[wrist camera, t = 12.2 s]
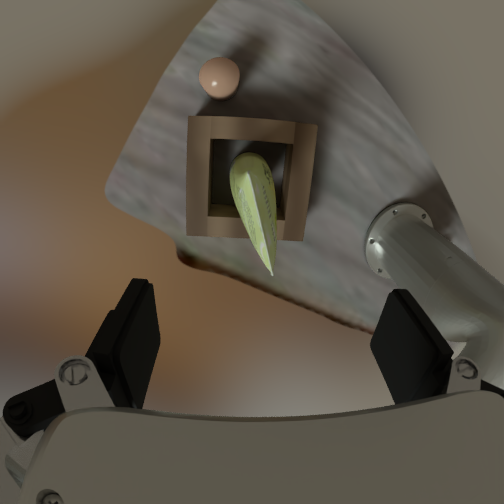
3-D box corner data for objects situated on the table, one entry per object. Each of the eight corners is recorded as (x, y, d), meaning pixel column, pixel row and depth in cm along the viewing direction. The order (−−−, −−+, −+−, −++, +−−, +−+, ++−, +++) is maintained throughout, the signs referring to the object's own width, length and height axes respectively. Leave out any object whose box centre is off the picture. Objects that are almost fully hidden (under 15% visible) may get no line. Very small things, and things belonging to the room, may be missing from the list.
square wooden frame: (307, 123, 34) (317, 124, 29) (295, 226, 40) (302, 241, 35) (195, 116, 33) (188, 115, 28) (192, 221, 39) (186, 235, 34)
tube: (280, 169, 36) (319, 222, 19) (257, 199, 38) (272, 278, 20) (244, 143, 35) (248, 171, 17) (221, 176, 36) (203, 235, 19)
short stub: (235, 68, 30) (236, 54, 24) (240, 98, 32) (242, 90, 25) (203, 74, 30) (196, 61, 24) (207, 103, 32) (202, 96, 25)
